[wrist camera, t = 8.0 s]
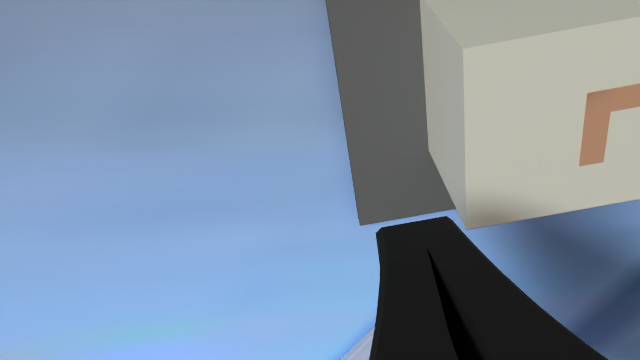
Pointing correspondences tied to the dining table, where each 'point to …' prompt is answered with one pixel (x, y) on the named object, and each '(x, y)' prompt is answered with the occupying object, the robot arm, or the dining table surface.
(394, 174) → the mat
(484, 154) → the block
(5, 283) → the dining table surface
